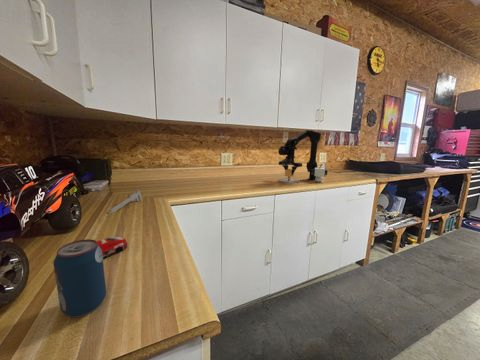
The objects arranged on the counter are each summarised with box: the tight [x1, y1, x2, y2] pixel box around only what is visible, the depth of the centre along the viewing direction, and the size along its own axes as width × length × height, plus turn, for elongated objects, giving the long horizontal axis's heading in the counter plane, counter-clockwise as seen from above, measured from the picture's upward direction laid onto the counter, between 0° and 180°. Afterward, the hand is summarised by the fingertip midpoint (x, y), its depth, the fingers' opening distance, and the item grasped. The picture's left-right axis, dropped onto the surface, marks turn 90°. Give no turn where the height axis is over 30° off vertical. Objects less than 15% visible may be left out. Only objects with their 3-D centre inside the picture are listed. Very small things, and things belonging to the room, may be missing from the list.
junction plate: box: [277, 176, 301, 185], centre depth 168 cm, size 13×13×4 cm
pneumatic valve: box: [312, 166, 328, 183], centre depth 171 cm, size 6×12×12 cm, turn 78°
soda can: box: [53, 238, 107, 318], centre depth 38 cm, size 7×7×12 cm
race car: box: [96, 236, 128, 260], centre depth 55 cm, size 13×5×4 cm, turn 146°
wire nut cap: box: [284, 168, 295, 178], centre depth 167 cm, size 5×5×6 cm
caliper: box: [107, 188, 142, 214], centre depth 96 cm, size 20×1×6 cm, turn 170°
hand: (289, 174), depth 167 cm, fingers closed on wire nut cap, 5 cm apart
